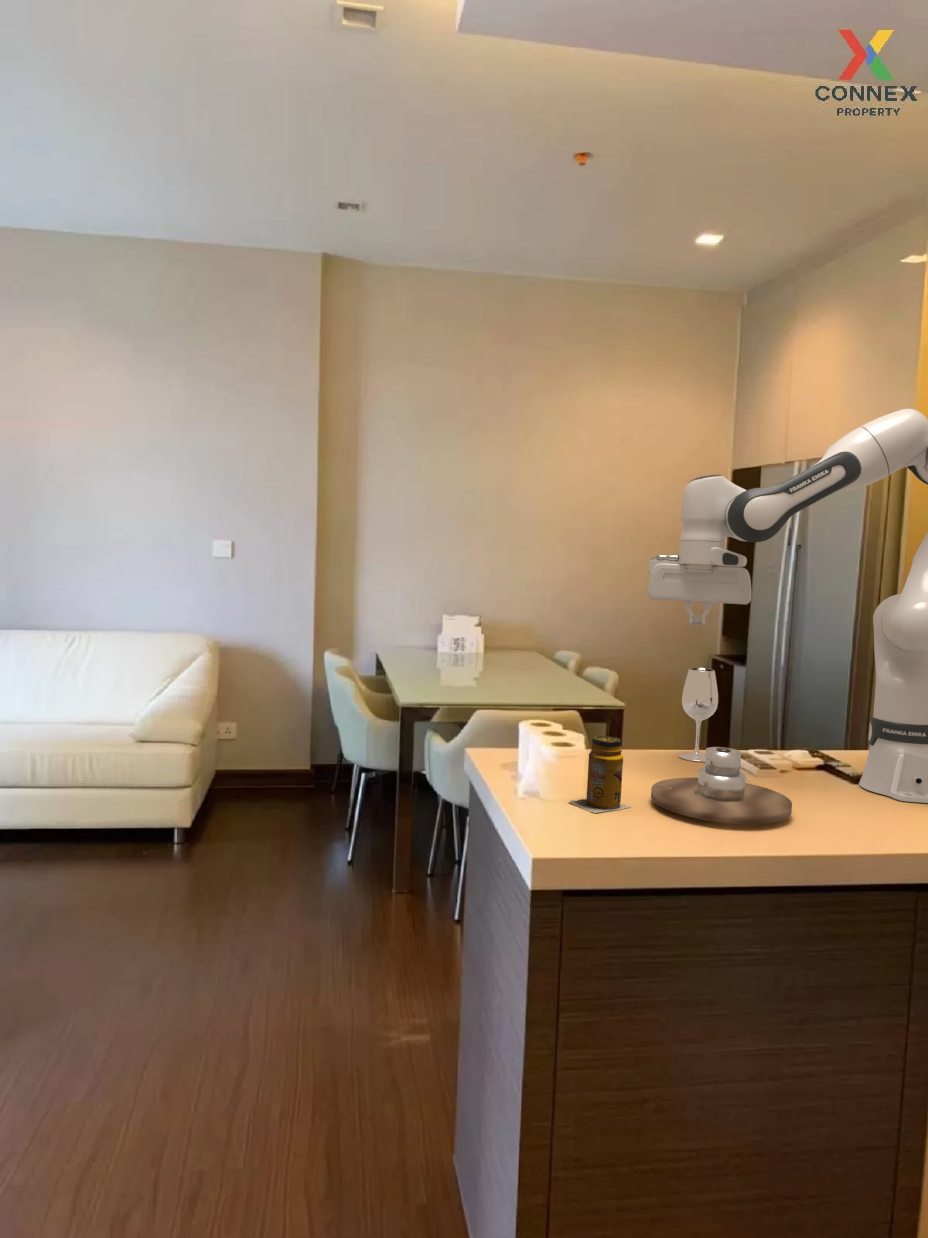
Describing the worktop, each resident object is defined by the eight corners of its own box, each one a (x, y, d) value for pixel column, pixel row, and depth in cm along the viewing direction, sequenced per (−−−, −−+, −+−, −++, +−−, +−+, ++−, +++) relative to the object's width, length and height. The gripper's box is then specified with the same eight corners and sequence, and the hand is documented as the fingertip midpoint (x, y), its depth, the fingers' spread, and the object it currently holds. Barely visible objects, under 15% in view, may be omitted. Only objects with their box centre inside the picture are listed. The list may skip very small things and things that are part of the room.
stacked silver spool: (745, 792, 159) (747, 747, 158) (743, 803, 151) (746, 756, 151) (699, 786, 162) (702, 742, 161) (695, 797, 154) (698, 751, 153)
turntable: (791, 795, 164) (792, 787, 164) (791, 832, 141) (792, 823, 141) (660, 779, 172) (661, 771, 172) (641, 811, 150) (641, 802, 150)
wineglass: (671, 754, 200) (677, 667, 198) (701, 753, 202) (707, 667, 200) (690, 762, 192) (696, 672, 191) (721, 761, 194) (727, 671, 193)
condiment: (630, 808, 156) (634, 741, 155) (594, 814, 151) (598, 745, 150) (602, 797, 162) (606, 733, 161) (567, 803, 157) (570, 736, 156)
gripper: (646, 553, 178) (643, 622, 179) (752, 557, 171) (748, 628, 172) (651, 554, 184) (647, 620, 185) (754, 558, 177) (749, 626, 178)
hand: (697, 624), depth 179 cm, fingers closed
